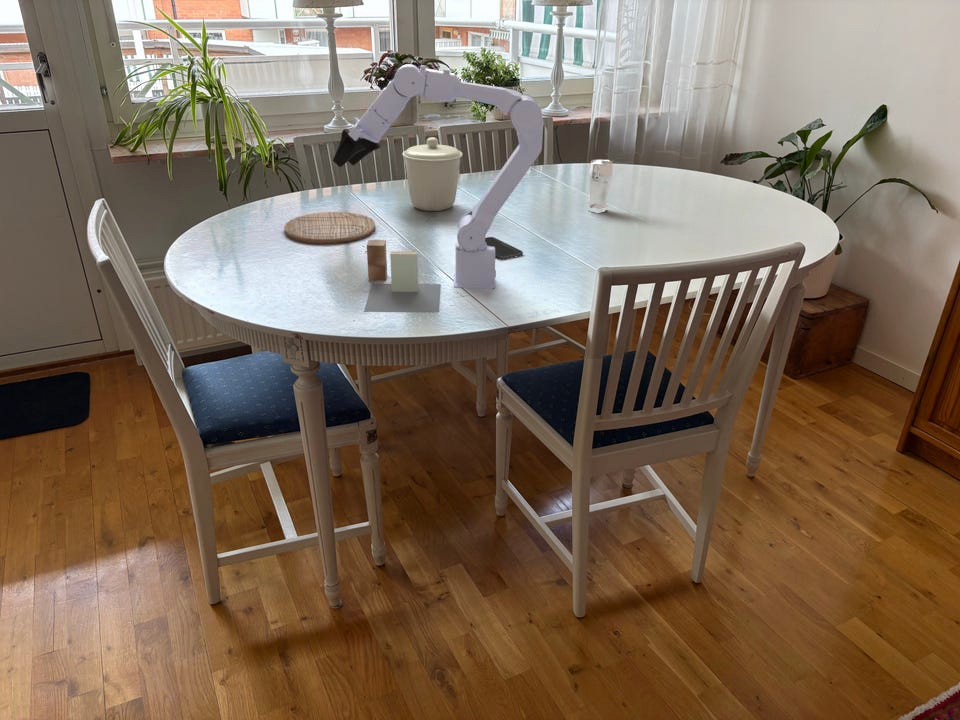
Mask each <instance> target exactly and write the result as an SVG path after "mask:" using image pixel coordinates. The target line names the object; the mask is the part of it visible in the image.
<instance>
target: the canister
mask: <svg viewBox="0 0 960 720" xmlns="http://www.w3.org/2000/svg"><path fill="white" fill-rule="evenodd" d="M401 155H402V157H403V158H404V162H405V170H406V178H407V185H408V192H409V197H410V198H409V199H410V201H411V204H412V205H413V207H414V208H416V209H418V210H420V211H421V210H422V211H425V212H426V211H427V212H439V211H446V210H448V209H451V208H452V207H453V206H454V203H455V202H456V198H457V189H458V181H459V175H460V174H459V173H460V164H461V158H462V157H463V152H462V151H461V150H459V149H458V148H456V147H454V146H450V145H445V144H439V140H438V139H437V137H433V136H432V137H428V138H427V139H426V143H425V144H418V145H413V146H411V147H408V148H407V149H406V150H404V151H403V152H402V154H401Z"/></svg>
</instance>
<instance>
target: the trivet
mask: <svg viewBox="0 0 960 720" xmlns="http://www.w3.org/2000/svg"><path fill="white" fill-rule="evenodd" d="M283 227H284V234H285V236H286V237H288V238H289V239H290V240H292V241H295V242H298V243H305V244H309V245H339V244H346V243H353V242H357V241H361V240H364V239H366V238H368V237H370V236H372V235H373V234H374V233H375V232H376V222H375V220H373V218H371V217H369V216H367V215H363V214H360V213H354V212H347V211H325V212H324V211H323V212H316V213H308V214H304V215H303V214H302V215H300V216H296V217H295V218H292V219H289V221H287V222H286V223H285V225H284V226H283ZM374 231H375V232H374ZM373 232H374V233H373ZM372 233H373V234H372ZM371 234H372V235H371Z"/></svg>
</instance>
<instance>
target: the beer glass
mask: <svg viewBox="0 0 960 720" xmlns="http://www.w3.org/2000/svg"><path fill="white" fill-rule="evenodd" d="M613 163H614V162H613V161H612V160H609V159H602V158H601V159H592V160H590V165H589V172H588V189H589V200H588V201H589V202H588V205H587V208H588V207H590V208H597V209H602V208H606V207H607V208H608V204H607V203H608V196H609V192H610V188H611V184H612V180H613Z"/></svg>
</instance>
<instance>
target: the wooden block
mask: <svg viewBox="0 0 960 720" xmlns="http://www.w3.org/2000/svg"><path fill="white" fill-rule="evenodd" d="M386 242H387V240H386V239H368V241H367V243H366V256H367V258H366V259H367V274H368V275H367V277H368V278H367V279H368V281H372V282H373V281H381V282H382V281H384V282H386V281H387V277H388V264H387V263H388V261H387V243H386Z"/></svg>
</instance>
